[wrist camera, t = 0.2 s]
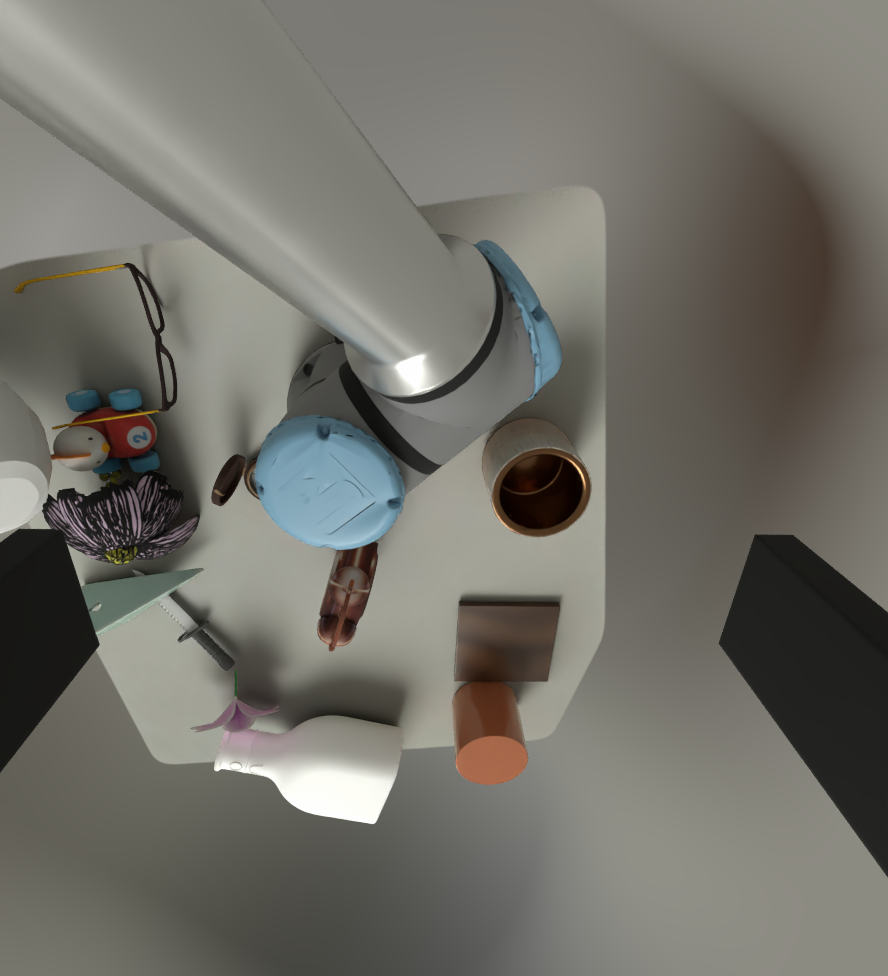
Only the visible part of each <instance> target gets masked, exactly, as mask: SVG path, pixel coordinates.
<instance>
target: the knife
mask: <svg viewBox="0 0 888 976" xmlns="http://www.w3.org/2000/svg"><path fill="white" fill-rule="evenodd" d="M132 571H133V572H134V574H135V575H136V576H137V577H139V576H146V575H144V574H143V573H141V572H139V571H136V570H133V569H132ZM158 604H159V605H160V604H162V605H161V607H162V608H163V607H165V609H164V610H165V611H166V610H168V612H167V613H168V614H169V613H171V617H172V616H174V620H176V619H177V623H179V622H180V626H182V625H183V629H184V630H185V631H186V632H185V633H184V634H182V635H181V636H180V637H179V639H178V642H182V641H184V640H186V639H188V638H190V637H193V638H194V639H195V640H197V642H198V643H199V644H200V645H202V647H203V648H204V649H205V650H207V652H208V653H209V654H210V655H212V657H213V658H214V659H215V660H217V662H218V663H219V665H220V666H221V667H222V668H223V669H224V670H225V671H228V670H229V669H231V668H232V667H233V666H234V664H235V661H234V660H233V659H232V658H231V657H230V656H229V655H227V654H226V653H225V652H224V651H223V650H222V649H221V648H220V647H219V646H218V645H217V644H216V643H215V642H214V640H213V639H212V638H210V636H209V635H208V634H207V633H205V631H204V630H203V628H204V627H206V625H207V624H208V622H209V621H208V620H207V621H204V622H201V623H199V624H196V623H195V622H194V621H193V620H192V618H190V617H189V616H188V615H187V614H186V613H185V612H184V611H183V610H182V609H181V608H180V606H179V605H178V604H177V603H176V602H175V601H174V600H173V599H172V598H171V597H170V596H169V595H167V596H165V597H164V598H162V599H161V600H159V601H158ZM187 633H188V634H187ZM186 634H187V635H186ZM185 635H186V636H185ZM184 636H185V637H184ZM183 637H184V638H183Z"/></svg>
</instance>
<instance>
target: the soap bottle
mask: <svg viewBox="0 0 888 976" xmlns="http://www.w3.org/2000/svg"><path fill="white" fill-rule="evenodd" d="M51 472H52V461H51V454H50V450H49V446H48V442H47V438H46V434H45V430H44V428H43V426H42V424H41V422H40V420H39V418H38V416H37V414H36V413H35V412H34V411H33V410H32V409H31V408H30V407H29V406H28V405H27V404H26V403H25V402H24V401H23V400H22V399H21V398H20V397H19V396H18V394H17V393H16V392H15V391H14V390H13V389H11V388H10V387H9V386H8V385H7V384H6V383H5V382H3V381H2V380H0V533H3V532H6V531H9V530H12V529H15V528H17V527H19V526H21V525H23V524H25V523H27V522H28V521H29V520H30V519H32V518H33V517H34V516H35V515H36V514H37V513H38V511H39V510H40V509H41V507H42V506H43V504H44V502H45V500H46V498H47V493H48V488H49V483H50V477H51Z"/></svg>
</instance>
